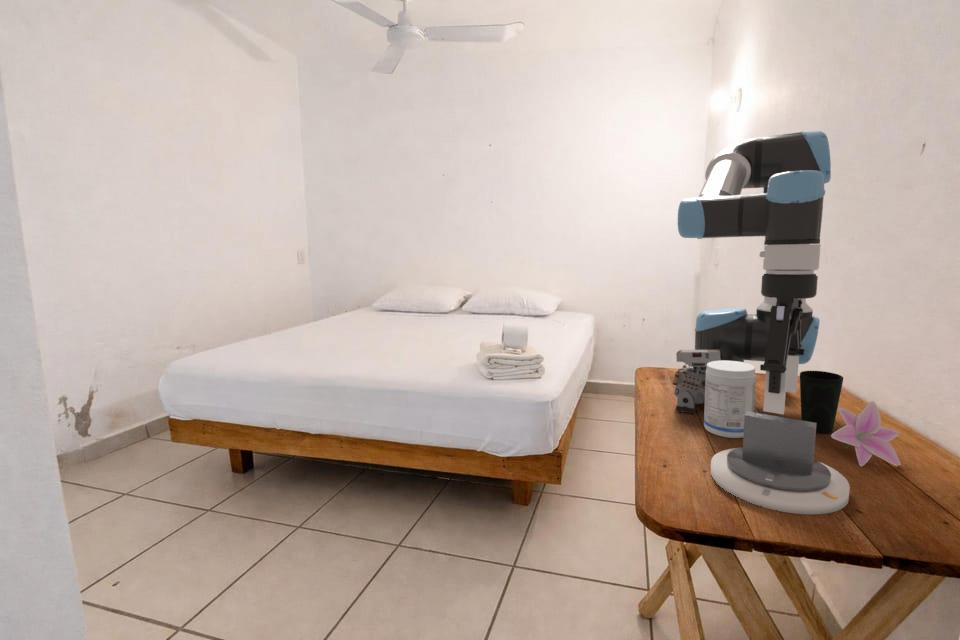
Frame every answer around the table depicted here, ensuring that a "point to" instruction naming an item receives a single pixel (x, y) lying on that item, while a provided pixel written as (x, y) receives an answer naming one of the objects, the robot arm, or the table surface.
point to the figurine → (692, 377)
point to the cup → (820, 398)
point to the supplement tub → (728, 397)
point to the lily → (867, 435)
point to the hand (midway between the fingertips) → (780, 401)
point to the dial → (779, 454)
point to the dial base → (782, 491)
